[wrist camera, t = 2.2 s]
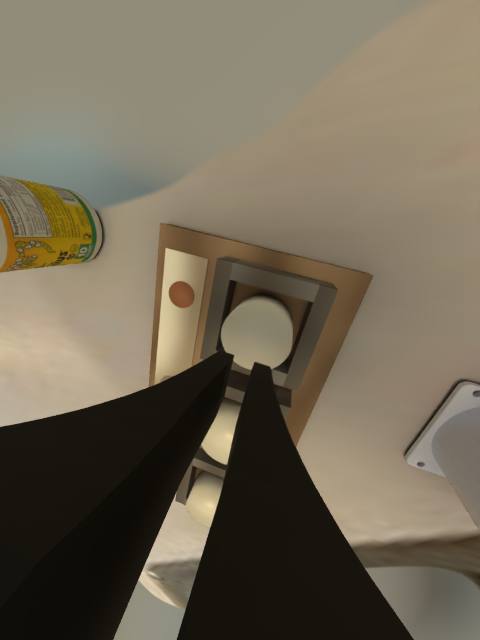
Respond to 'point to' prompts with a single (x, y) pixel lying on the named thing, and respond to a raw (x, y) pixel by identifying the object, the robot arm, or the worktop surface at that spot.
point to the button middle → (222, 431)
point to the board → (223, 297)
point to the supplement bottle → (45, 226)
